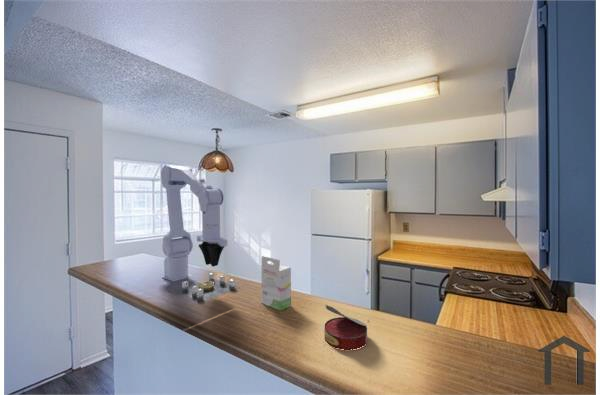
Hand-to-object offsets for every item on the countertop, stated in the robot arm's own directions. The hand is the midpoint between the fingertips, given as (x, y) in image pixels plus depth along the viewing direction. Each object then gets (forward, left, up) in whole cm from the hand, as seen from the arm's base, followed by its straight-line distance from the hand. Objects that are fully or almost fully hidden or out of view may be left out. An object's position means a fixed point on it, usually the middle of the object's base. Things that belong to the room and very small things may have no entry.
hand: (211, 264), depth 96 cm
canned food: (+50, +2, -10) cm, 51 cm away
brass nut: (-4, 0, -9) cm, 10 cm away
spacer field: (-2, 0, -9) cm, 10 cm away
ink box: (+24, +6, -10) cm, 27 cm away
